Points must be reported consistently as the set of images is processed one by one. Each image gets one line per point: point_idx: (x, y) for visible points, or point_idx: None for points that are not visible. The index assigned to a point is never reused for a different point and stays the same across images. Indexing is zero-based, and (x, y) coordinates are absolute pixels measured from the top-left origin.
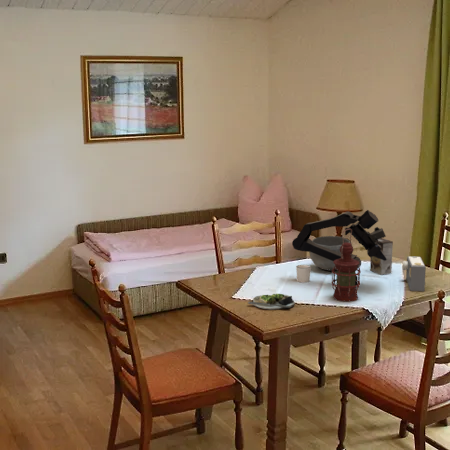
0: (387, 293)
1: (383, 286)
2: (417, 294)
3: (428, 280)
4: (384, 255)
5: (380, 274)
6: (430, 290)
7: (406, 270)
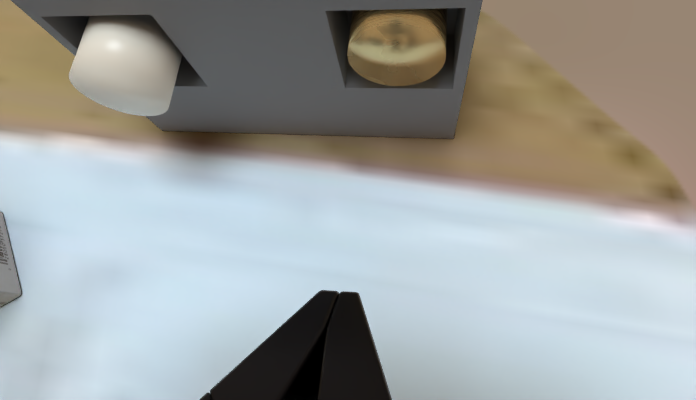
0: (554, 335)
1: None
2: (542, 102)
3: None
4: (290, 333)
5: (8, 301)
6: None
7: None
